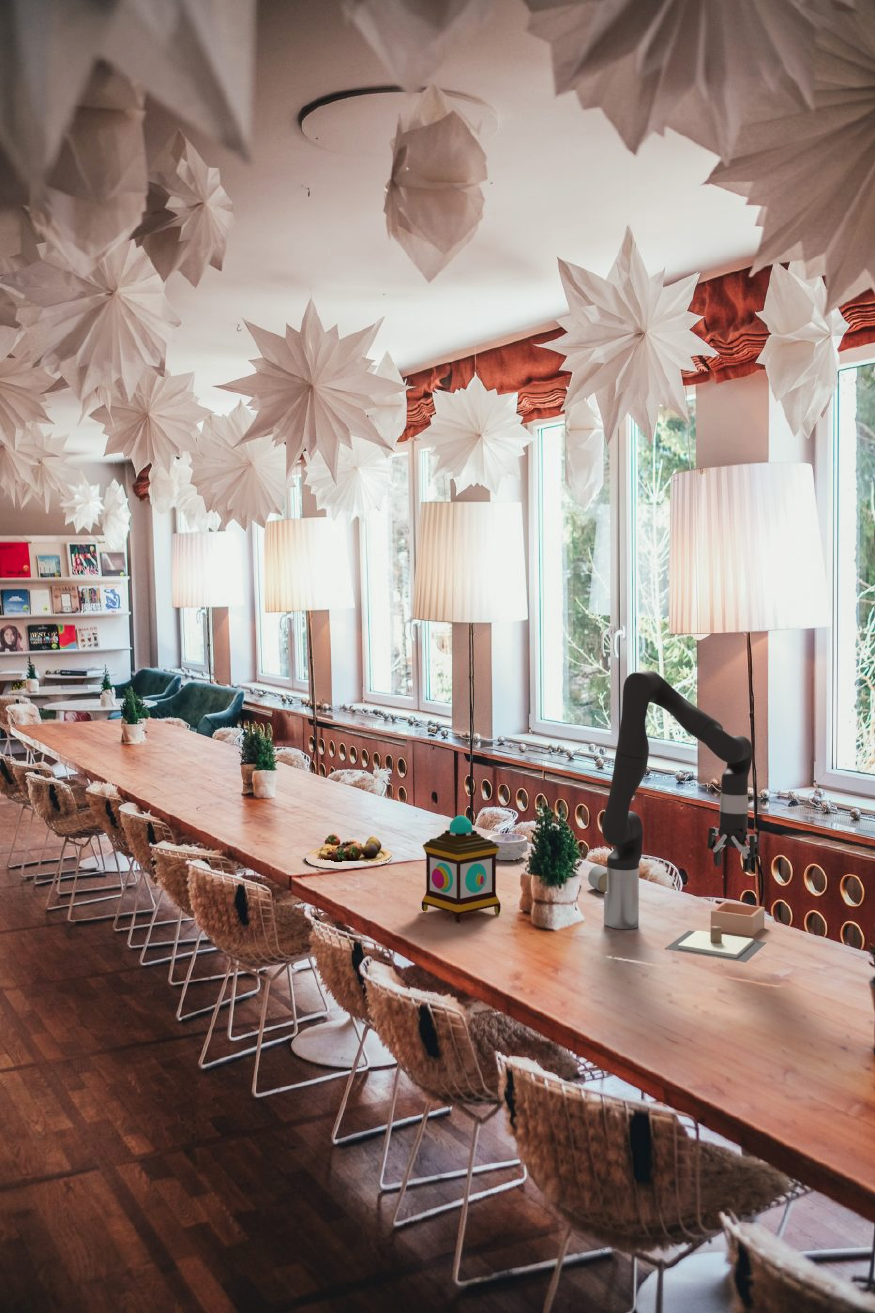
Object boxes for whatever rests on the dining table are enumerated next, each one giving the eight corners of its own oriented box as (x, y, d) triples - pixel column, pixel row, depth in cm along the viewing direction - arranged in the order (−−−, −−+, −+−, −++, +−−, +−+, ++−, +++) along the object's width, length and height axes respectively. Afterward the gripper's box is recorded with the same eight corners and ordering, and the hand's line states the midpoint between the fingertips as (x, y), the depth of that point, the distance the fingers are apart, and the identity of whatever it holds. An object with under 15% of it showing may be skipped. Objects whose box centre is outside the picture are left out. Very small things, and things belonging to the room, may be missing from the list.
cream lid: (677, 948, 303) (677, 930, 303) (697, 933, 317) (697, 916, 317) (736, 958, 295) (736, 939, 295) (753, 942, 309) (753, 924, 308)
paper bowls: (481, 861, 410) (481, 840, 410) (492, 852, 425) (492, 832, 424) (522, 864, 406) (522, 842, 405) (531, 855, 420) (531, 834, 420)
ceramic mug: (598, 895, 362) (598, 871, 362) (587, 889, 370) (587, 865, 370) (628, 893, 365) (628, 869, 365) (616, 887, 373) (617, 864, 373)
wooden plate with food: (297, 854, 424) (297, 832, 424) (379, 847, 434) (379, 826, 433) (314, 875, 394) (313, 852, 393) (401, 867, 403) (401, 845, 403)
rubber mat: (664, 950, 303) (664, 948, 303) (689, 932, 320) (689, 930, 320) (745, 964, 292) (745, 962, 292) (766, 944, 309) (766, 942, 309)
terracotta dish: (710, 931, 321) (710, 910, 321) (723, 921, 331) (723, 901, 331) (752, 938, 315) (752, 916, 315) (764, 927, 325) (764, 907, 325)
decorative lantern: (457, 926, 327) (457, 824, 326) (414, 912, 342) (414, 814, 341) (507, 914, 340) (507, 815, 338) (464, 901, 355) (464, 806, 354)
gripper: (703, 807, 307) (701, 866, 308) (750, 815, 297) (748, 876, 298) (718, 804, 312) (716, 861, 313) (764, 812, 302) (762, 871, 303)
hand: (731, 868), depth 306 cm, fingers open, 8 cm apart
